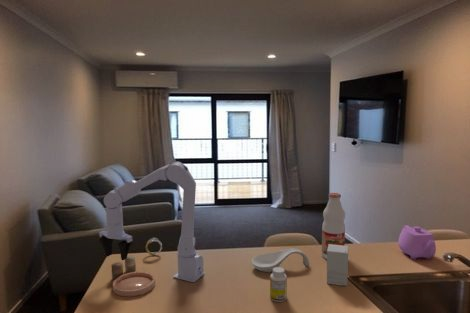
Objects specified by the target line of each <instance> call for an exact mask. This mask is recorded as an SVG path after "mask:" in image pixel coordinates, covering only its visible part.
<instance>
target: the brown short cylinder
mask: <svg viewBox="0 0 470 313" xmlns="http://www.w3.org/2000/svg"><path fill="white" fill-rule="evenodd" d="M123 266H124V264H123V262H120V261H118V262H116V261H115V262H114V263H112V264H111V280H112V281H113V282H114V281H115V279H116V278H118V277H120V276H121V275H124V267H123Z"/></svg>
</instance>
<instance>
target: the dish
mask: <svg viewBox="0 0 470 313" xmlns="http://www.w3.org/2000/svg"><path fill="white" fill-rule="evenodd" d="M155 287H156V276H155V275H154V274H152V273H151V272H147V271H135V272H131V273H123V275H121V276H120V277H118V278H116V279H115V281H113V282H112V290H113V293H114V294H115V295H117V296H120V297H124V298H125V297H126V298H128V297H129V298H130V297H131V298H132V297H138V296H143V295H144V294H147V293H149V292H150V291H152V290H153V289H154V288H155Z"/></svg>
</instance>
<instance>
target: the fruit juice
mask: <svg viewBox="0 0 470 313" xmlns="http://www.w3.org/2000/svg"><path fill="white" fill-rule="evenodd" d="M328 198H329V199H328V201H327V204H326V207H325V208H324V210H323V212H322V217H323V222H322V227H321V231H322V232H321V256H322V258H323V259H325V260H327V249H328V244H333V245H342V246H345V243H346V242H345V240H346V239H345V238H346V237H345V236H346V225H345V224H346V223H345V218H346V212H345V210H344V208H343V206H342V202H341V194H340V193H338V192H329V193H328Z"/></svg>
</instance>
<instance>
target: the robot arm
mask: <svg viewBox="0 0 470 313" xmlns="http://www.w3.org/2000/svg"><path fill="white" fill-rule="evenodd" d="M159 180H160V181H167V180H169V181H170V182H172V183H174V184H177V186H179V187H180V188H181V189H182V192H183V194H182V195H183V196H182V209H181V211H182V212H181V213H182V214H181V216H182V217H181V231H180V237H179V242H178V245H177V247H176V248H177V249H176V250H177V273H175V274H173V278H175V279H178V280H183V281H187V282H190V283H195V282H196V281H198V280H199V279H200V278H201V277H202V276H204V275H205V272H204V258H203V257H204V256H202V255H200V254H198V253H197V250H196V248H195V247H196V246H195V244H196V237H195V235H194V226H195V209H196V207H195V206H196V194H197V193H196V192H197V190H196V189H197V182H196V181H195V179H194V177H193V175H192V174H191V172H190V170H189V168H188V166H187V165H185V164H184V163H182V162H181V161H174V162H172V163H171V164H170V163H169V164H166V165H164V166H161V167H159V168H158V169H156V170H154V171H153V172H151V173H149V174H147V175H145V176H143V177H142V178H140V179H139V180H134V179H132V180H130V179H127V180H126V181H125V182H124V184H122V185H120V186H119V187H117V186H116V187H114V188H113V190H110V191H109V192H108V193H107V194H105V195H104V198H103V204H104V206H105V212H106V213H105V215H106V216H105V217H106V230H101V231H99V232H98V233H99V234H98V236H99V240H98V242H99V243H100V244H101V246H102V249H103V250H104V254H105V256H106V257H110V256H112V255H113V241H114V240H119V241H120V242H118V243H117V246H118V248H119V252H120V259H121V261H125V259H127V256H129V251H130V248H131V245H132V244H133V235H130V234H128V233H126V232H125V230H124V216H123V213H124V212H123V202H127V201H128V200H130V199H132V198H134V197H136V196H138V195H139V194H141V192H142V191H141V190H142V189H143V188H145V187H147V186H149V185H151V184H153V183H156V182H157V181H159Z"/></svg>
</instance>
